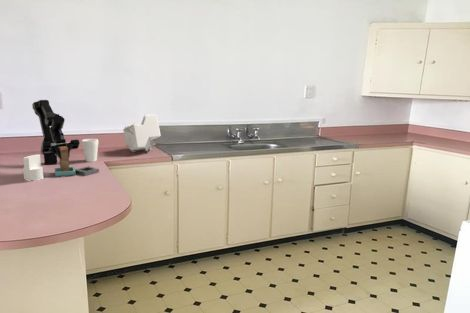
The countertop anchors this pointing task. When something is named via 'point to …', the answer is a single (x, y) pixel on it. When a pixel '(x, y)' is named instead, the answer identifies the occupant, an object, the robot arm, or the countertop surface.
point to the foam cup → (90, 149)
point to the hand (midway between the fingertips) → (64, 158)
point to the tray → (66, 173)
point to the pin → (64, 159)
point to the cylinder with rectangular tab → (33, 167)
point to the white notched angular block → (142, 133)
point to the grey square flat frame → (86, 171)
